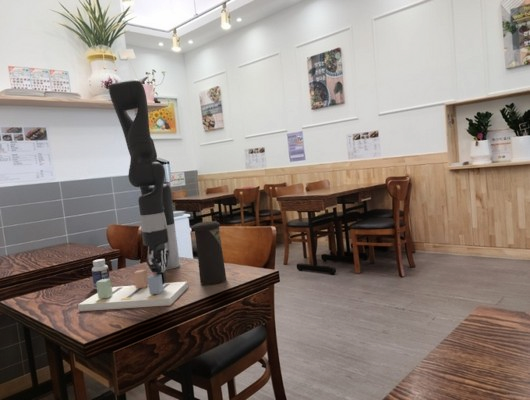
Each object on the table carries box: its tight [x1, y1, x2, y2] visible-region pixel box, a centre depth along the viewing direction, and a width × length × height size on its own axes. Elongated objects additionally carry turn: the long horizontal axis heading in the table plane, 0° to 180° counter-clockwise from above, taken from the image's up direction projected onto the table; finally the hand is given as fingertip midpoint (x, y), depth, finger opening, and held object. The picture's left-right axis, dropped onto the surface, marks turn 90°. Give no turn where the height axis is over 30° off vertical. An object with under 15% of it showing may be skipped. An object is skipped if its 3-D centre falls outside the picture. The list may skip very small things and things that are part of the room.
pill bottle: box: [91, 258, 111, 290], centre depth 143 cm, size 5×5×10 cm
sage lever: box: [96, 278, 113, 299], centre depth 122 cm, size 3×3×5 cm
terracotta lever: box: [133, 269, 149, 288], centre depth 129 cm, size 3×3×5 cm
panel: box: [77, 281, 189, 312], centre depth 124 cm, size 16×28×2 cm, turn 83°
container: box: [192, 220, 227, 286], centre depth 134 cm, size 9×9×20 cm
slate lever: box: [147, 274, 163, 294], centre depth 120 cm, size 3×3×5 cm
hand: (161, 283), depth 125 cm, fingers closed
